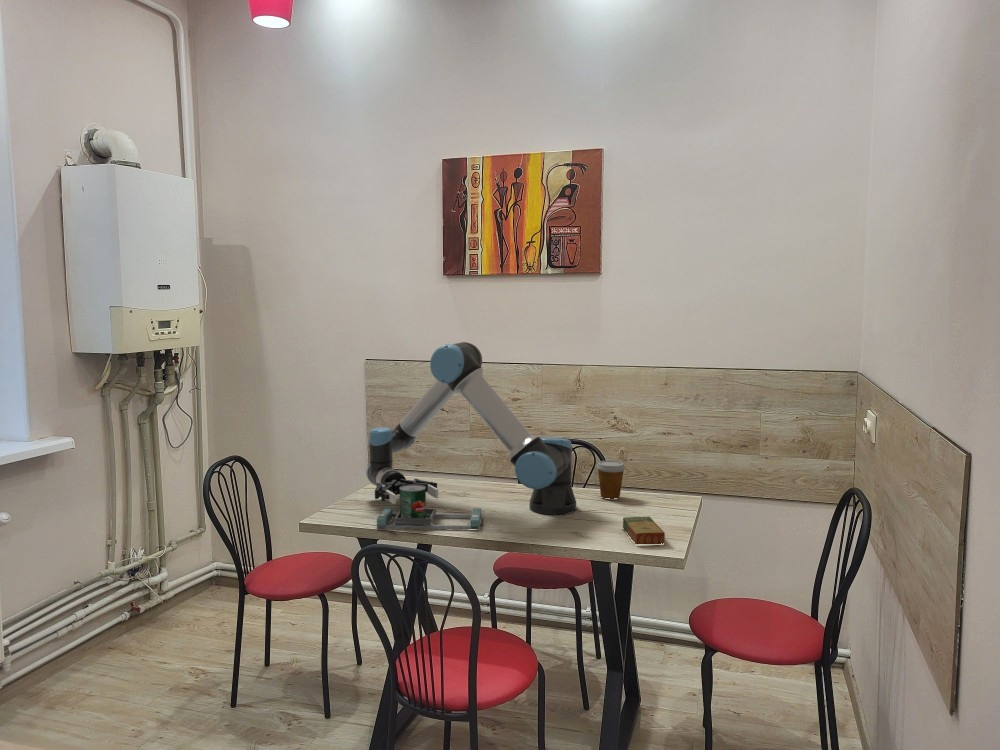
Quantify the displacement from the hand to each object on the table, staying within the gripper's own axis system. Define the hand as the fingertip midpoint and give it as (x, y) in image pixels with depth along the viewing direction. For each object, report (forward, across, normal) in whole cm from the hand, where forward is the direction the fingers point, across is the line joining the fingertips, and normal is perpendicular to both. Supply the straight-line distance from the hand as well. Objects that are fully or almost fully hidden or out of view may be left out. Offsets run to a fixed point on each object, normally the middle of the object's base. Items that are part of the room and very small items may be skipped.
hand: (416, 496), depth 228 cm
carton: (+39, -54, -10) cm, 67 cm away
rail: (-1, -5, -9) cm, 10 cm away
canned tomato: (-3, 0, -9) cm, 10 cm away
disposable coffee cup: (0, -70, -10) cm, 71 cm away
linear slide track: (-1, -5, -9) cm, 10 cm away
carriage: (-3, -1, -7) cm, 8 cm away
